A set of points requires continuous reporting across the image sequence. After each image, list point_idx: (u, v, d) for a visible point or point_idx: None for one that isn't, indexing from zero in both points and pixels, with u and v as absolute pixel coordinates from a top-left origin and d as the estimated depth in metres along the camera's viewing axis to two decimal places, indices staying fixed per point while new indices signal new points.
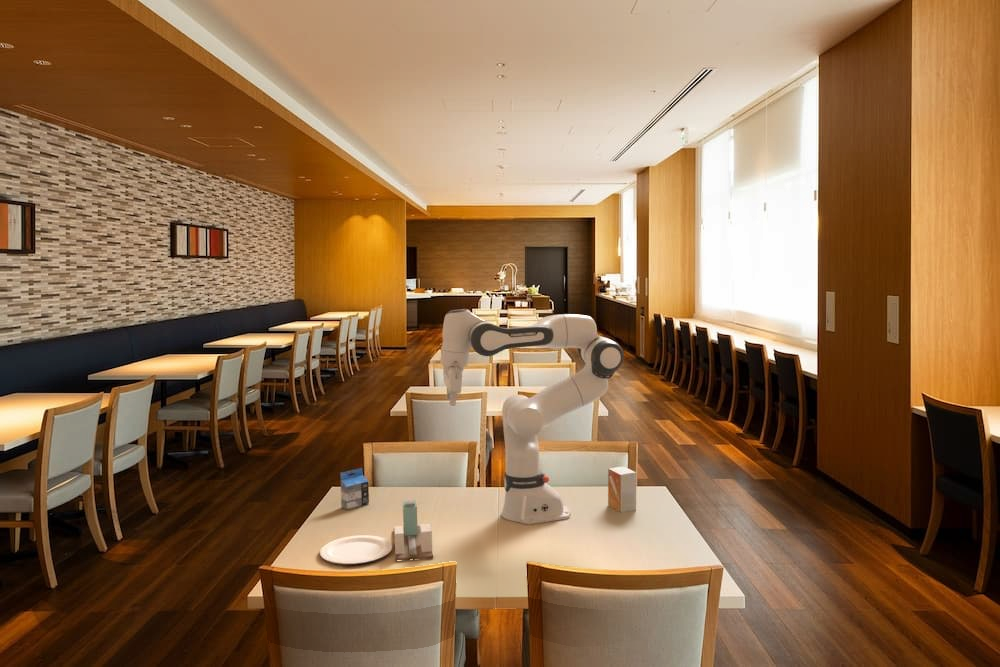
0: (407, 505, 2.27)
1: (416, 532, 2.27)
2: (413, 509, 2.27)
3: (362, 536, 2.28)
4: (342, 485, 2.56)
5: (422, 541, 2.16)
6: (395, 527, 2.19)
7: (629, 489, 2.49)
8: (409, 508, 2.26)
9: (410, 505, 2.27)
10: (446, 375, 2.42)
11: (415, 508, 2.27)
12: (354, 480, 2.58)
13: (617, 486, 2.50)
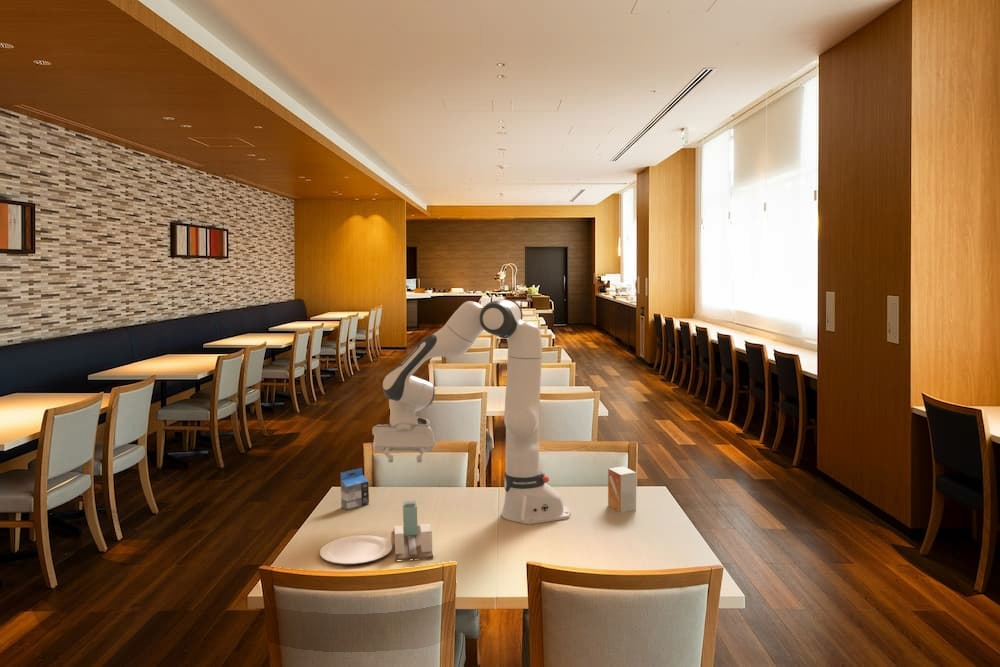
0: (407, 505, 2.27)
1: (416, 532, 2.27)
2: (413, 509, 2.27)
3: (362, 536, 2.28)
4: (342, 485, 2.56)
5: (422, 541, 2.16)
6: (395, 527, 2.19)
7: (629, 489, 2.49)
8: (409, 508, 2.26)
9: (410, 505, 2.27)
10: None
11: (415, 508, 2.27)
12: (354, 480, 2.58)
13: (617, 486, 2.50)
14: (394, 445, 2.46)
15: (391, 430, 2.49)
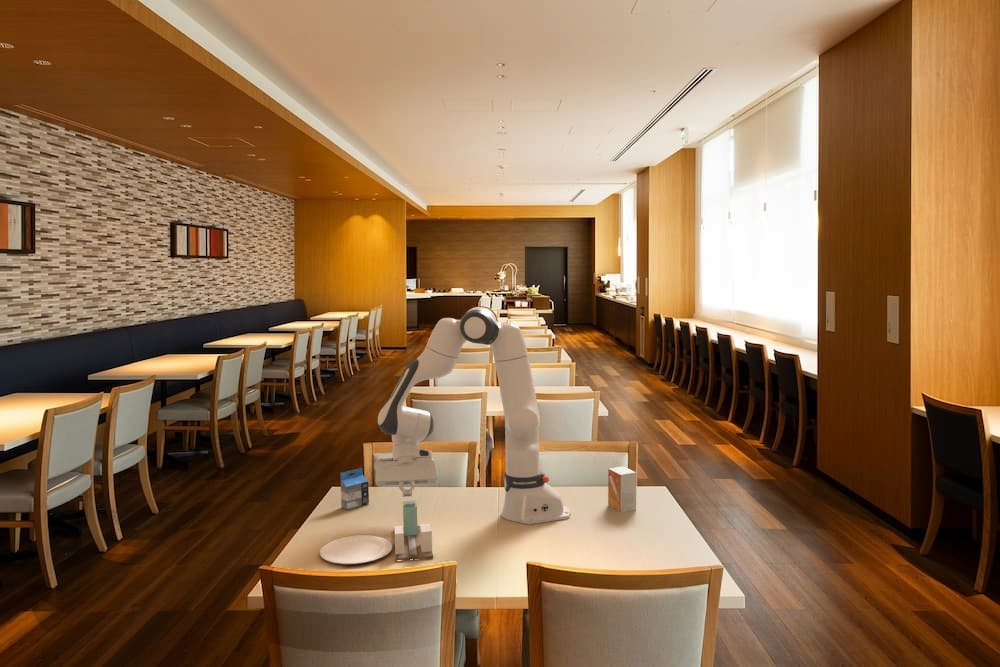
0: (407, 505, 2.27)
1: (416, 532, 2.27)
2: (413, 509, 2.27)
3: (362, 536, 2.28)
4: (342, 485, 2.56)
5: (422, 541, 2.16)
6: (395, 527, 2.19)
7: (629, 489, 2.49)
8: (409, 508, 2.26)
9: (410, 505, 2.27)
10: None
11: (415, 508, 2.27)
12: (354, 480, 2.58)
13: (617, 486, 2.50)
14: (396, 479, 2.42)
15: (393, 464, 2.45)
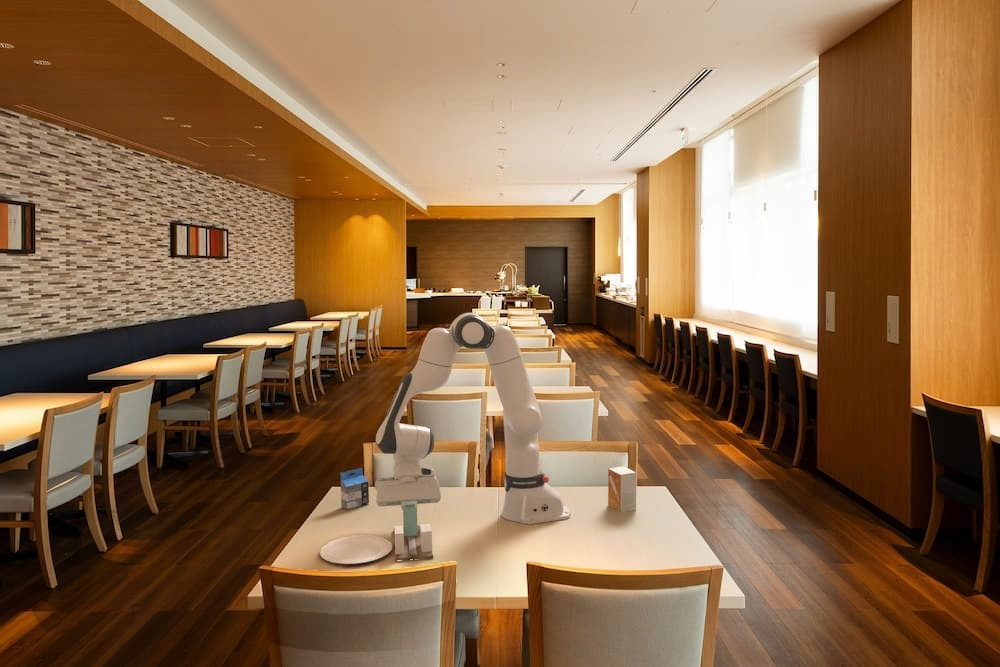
0: (407, 506, 2.26)
1: (416, 533, 2.27)
2: (413, 510, 2.26)
3: (362, 536, 2.28)
4: (342, 485, 2.56)
5: (422, 541, 2.16)
6: (395, 527, 2.19)
7: (629, 489, 2.49)
8: (409, 509, 2.26)
9: (410, 506, 2.26)
10: None
11: (415, 509, 2.26)
12: (354, 480, 2.58)
13: (617, 486, 2.50)
14: (397, 499, 2.34)
15: (394, 483, 2.37)
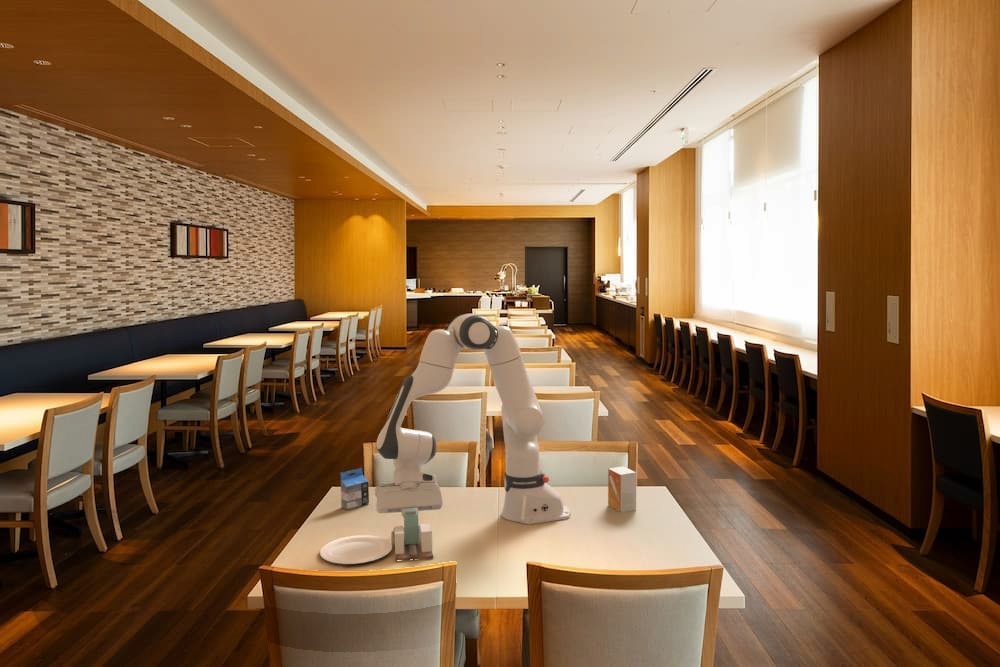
0: (408, 513, 2.20)
1: (417, 541, 2.21)
2: (414, 517, 2.20)
3: (362, 536, 2.28)
4: (342, 485, 2.56)
5: (422, 541, 2.16)
6: (395, 527, 2.19)
7: (629, 489, 2.49)
8: (410, 516, 2.20)
9: (411, 513, 2.20)
10: None
11: (416, 516, 2.20)
12: (354, 480, 2.58)
13: (617, 486, 2.50)
14: (398, 506, 2.28)
15: (394, 490, 2.31)
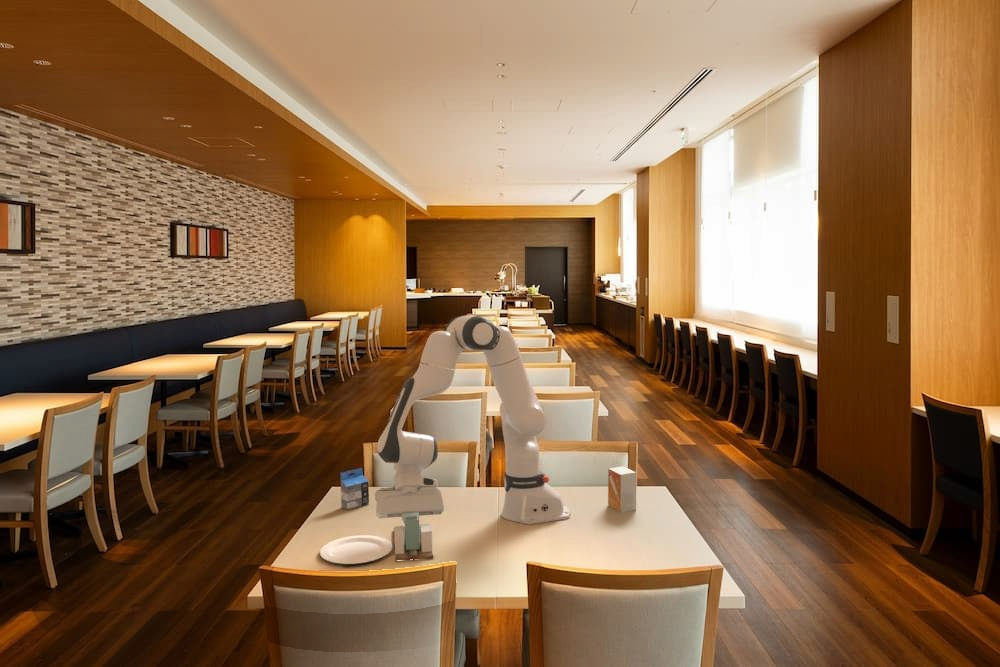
0: (409, 518, 2.16)
1: (418, 546, 2.17)
2: (415, 522, 2.16)
3: (362, 536, 2.28)
4: (342, 485, 2.56)
5: (422, 541, 2.16)
6: (395, 527, 2.19)
7: (629, 489, 2.49)
8: (411, 521, 2.15)
9: (412, 518, 2.16)
10: None
11: (417, 521, 2.16)
12: (354, 480, 2.58)
13: (617, 486, 2.50)
14: (398, 511, 2.24)
15: (395, 494, 2.27)
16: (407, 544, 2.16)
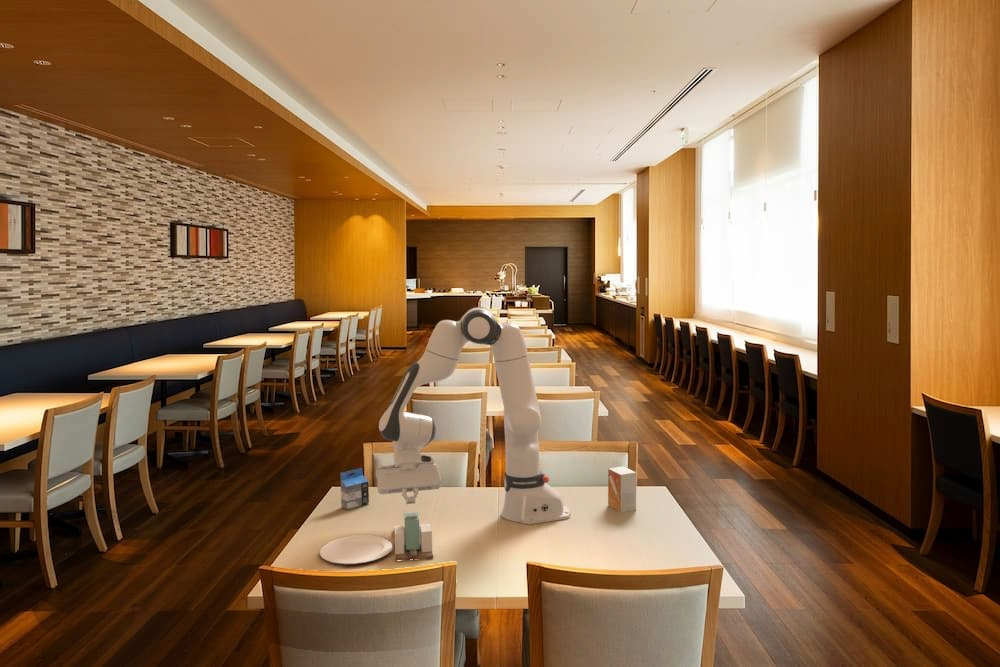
0: (409, 518, 2.16)
1: (418, 546, 2.17)
2: (415, 522, 2.16)
3: (362, 536, 2.28)
4: (342, 485, 2.56)
5: (422, 541, 2.16)
6: (395, 527, 2.19)
7: (629, 489, 2.49)
8: (411, 521, 2.15)
9: (412, 518, 2.16)
10: None
11: (417, 521, 2.16)
12: (354, 480, 2.58)
13: (617, 486, 2.50)
14: (398, 486, 2.37)
15: (395, 471, 2.40)
16: (407, 544, 2.16)
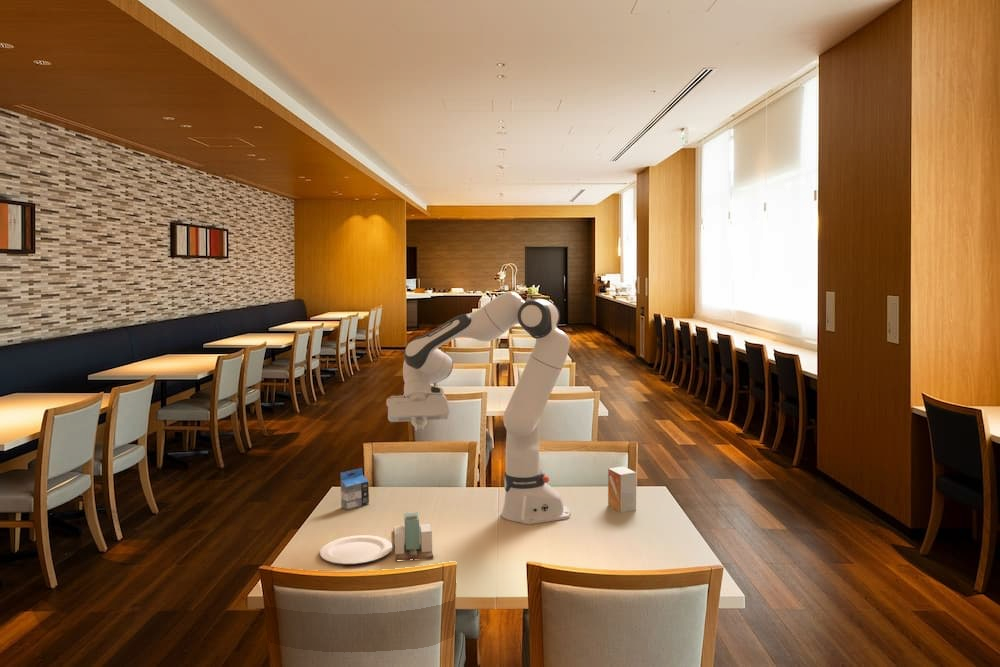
0: (409, 518, 2.16)
1: (418, 546, 2.17)
2: (415, 522, 2.16)
3: (362, 536, 2.28)
4: (342, 485, 2.56)
5: (422, 541, 2.16)
6: (395, 527, 2.19)
7: (629, 489, 2.49)
8: (411, 521, 2.15)
9: (412, 518, 2.16)
10: None
11: (417, 521, 2.16)
12: (354, 480, 2.58)
13: (617, 486, 2.50)
14: (408, 414, 2.44)
15: (405, 400, 2.47)
16: (407, 544, 2.16)
